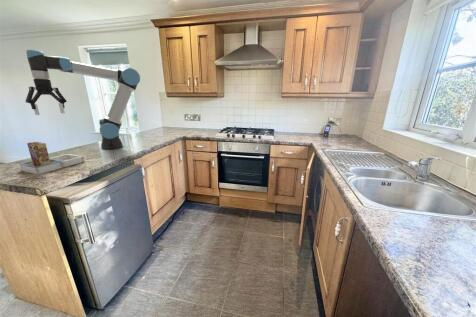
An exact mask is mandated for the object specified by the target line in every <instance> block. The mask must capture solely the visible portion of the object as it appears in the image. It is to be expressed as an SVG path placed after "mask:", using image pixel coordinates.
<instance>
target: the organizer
mask: <svg viewBox="0 0 476 317" xmlns="http://www.w3.org/2000/svg"><path fill="white" fill-rule="evenodd" d="M49 159H50V163H49V164H45V165H41V166H33V162H32V160H30V161H25V162H21V163H19V166H20V169H21V171H22V172H26V173H28V174H29V173H30V174H35V175H40V174H45V173H48V172H52V171H56V170H59V169H63V168H66V167H70V166H73V165H74V166H75V165H77V164H80V163H84V162H85V158H84V156H82V155H77V154H74V153H73V154H71V153H66V154H60V155H56V156H52V157H49Z"/></svg>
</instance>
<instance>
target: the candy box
mask: <svg viewBox="0 0 476 317" xmlns="http://www.w3.org/2000/svg"><path fill="white" fill-rule="evenodd" d="M26 145H27V148H28V152H29V154H30V158H31V161H32V162H33V166H41V165H45V164H49V163H50V159H49V158H50V156H49V152H48V147H47V144H46V143H45V142H40V141H31V142H27V143H26Z"/></svg>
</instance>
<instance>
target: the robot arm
mask: <svg viewBox="0 0 476 317" xmlns="http://www.w3.org/2000/svg"><path fill="white" fill-rule="evenodd" d="M25 52H26V58H27V61H28V64H29V68H30V72H31V76H32V78H33V80H32V81H33V83H34V86H28V93H27V95H26V99H25V103H28V104H30V107H31V109H32V110H33V111H34V114H35V116H40V114H41V113H40V111H39V108H38V107H39V106H38V103H37V101H38V100H39V98H40V97H41V96H42V95H43V96H46V95H47V96H48V95H49V96H51V97H52V98H54V99H55V100H56V101H57V102H58V107H59V111H60V114H66V111H65V107H66V106H65V103H67V102H68V101H67V99H66V98H65V97H64V95H63V94H62V93H61V91H60V90H59V88H58V87H52V82H51V79H50V78H51V77H50V74H49V70H58V71H60V72H63V73H71V74H75V75H76V74H77V75H82V76H88V77H94V78H99V79H104V80H110V81H115V82H116V83H118V85H119V86H118V89H117V91H116V94H115V96H114V98H113V101H112V104H111V107H110V109H109V111H108V114H107V116H104V117H103V119H99V120H98V123H99V133H100V135H101V138H102V139H101V144H100V148H101V149H102V150H116V149H120V148H123V147H124V145H123V143H122V140H121V138H120V130H121V127H122V125H123V124H122V118H123V115H124V113H125V110H126V108H127V105H128V103H129V100H130V98H131V96H132V93H133V92H135V91H136V89H137V87H138V84H139V83H140V82H141V75H140V73H139V72H138V71H137V70H136V69H134V68H131V67H126V68H123V69H119V68H117V69H111V68H107V67H100V66H96V65H91V64H86V63H82V62H76V61H73V60H72V61H71V59H70V58H69V57H63V56H56V55H55V56H53V55H46V54H44V51H42V50H35V49H27V50H26V51H25ZM35 90H36V92H35ZM53 91H54V92H53ZM34 93H35V94H34Z"/></svg>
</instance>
